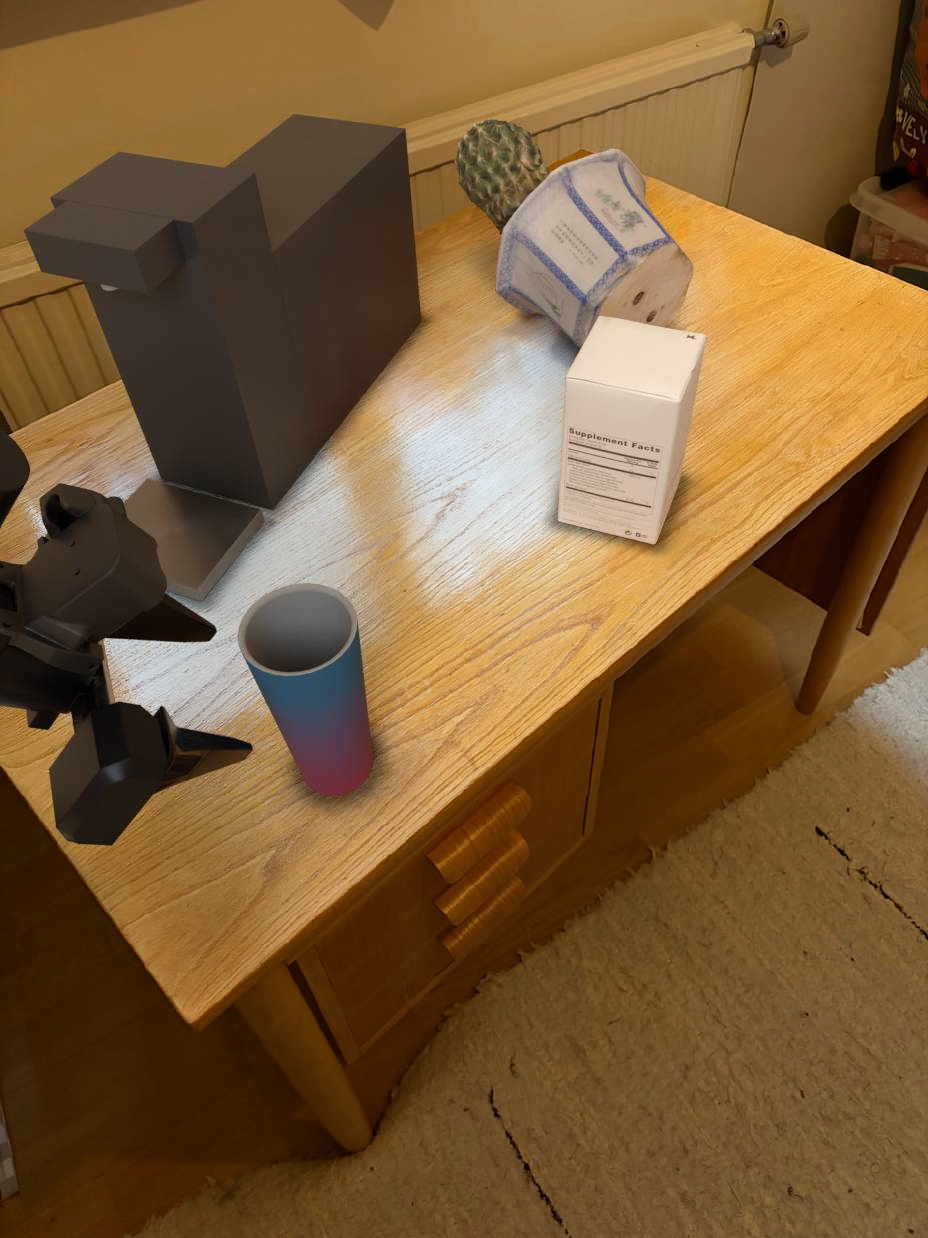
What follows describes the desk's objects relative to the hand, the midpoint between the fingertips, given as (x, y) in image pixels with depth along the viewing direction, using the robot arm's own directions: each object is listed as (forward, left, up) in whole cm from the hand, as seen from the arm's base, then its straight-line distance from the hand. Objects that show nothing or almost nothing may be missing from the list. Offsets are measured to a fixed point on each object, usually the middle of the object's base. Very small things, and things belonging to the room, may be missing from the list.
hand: (230, 690), depth 51 cm
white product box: (+34, +19, -12) cm, 40 cm away
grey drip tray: (-4, +26, -12) cm, 29 cm away
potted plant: (+40, +51, -12) cm, 66 cm away
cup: (+5, 0, -12) cm, 13 cm away
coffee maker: (+8, +42, -12) cm, 45 cm away
